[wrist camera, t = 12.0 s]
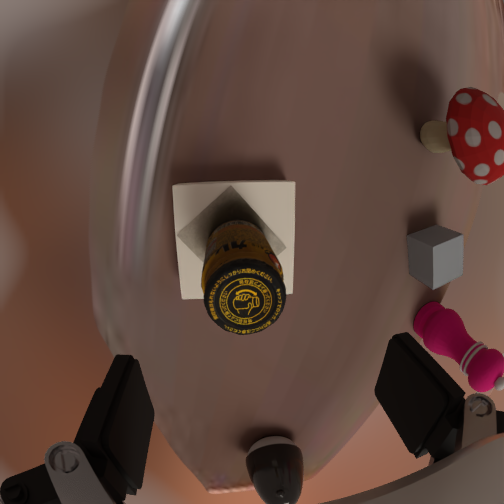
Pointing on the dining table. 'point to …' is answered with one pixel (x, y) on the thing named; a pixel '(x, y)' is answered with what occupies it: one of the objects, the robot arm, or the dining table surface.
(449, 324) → the pepper mill
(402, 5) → the dining table surface
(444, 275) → the slate cube
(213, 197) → the cream block
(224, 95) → the dining table surface
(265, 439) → the dark grey domed cylinder
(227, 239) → the condiment
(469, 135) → the decorative mushroom
